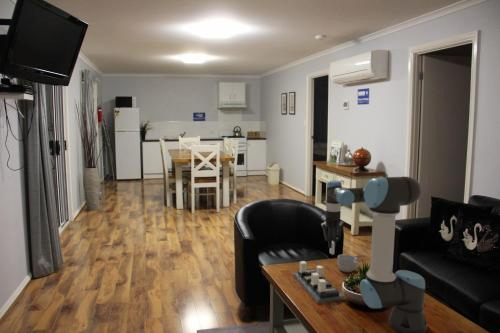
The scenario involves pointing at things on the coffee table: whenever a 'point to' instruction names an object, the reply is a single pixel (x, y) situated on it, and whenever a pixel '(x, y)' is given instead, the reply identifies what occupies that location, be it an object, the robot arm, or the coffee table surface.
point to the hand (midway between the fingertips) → (331, 253)
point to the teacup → (347, 262)
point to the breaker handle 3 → (319, 270)
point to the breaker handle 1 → (303, 266)
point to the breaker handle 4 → (321, 285)
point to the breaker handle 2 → (314, 278)
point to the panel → (313, 293)
